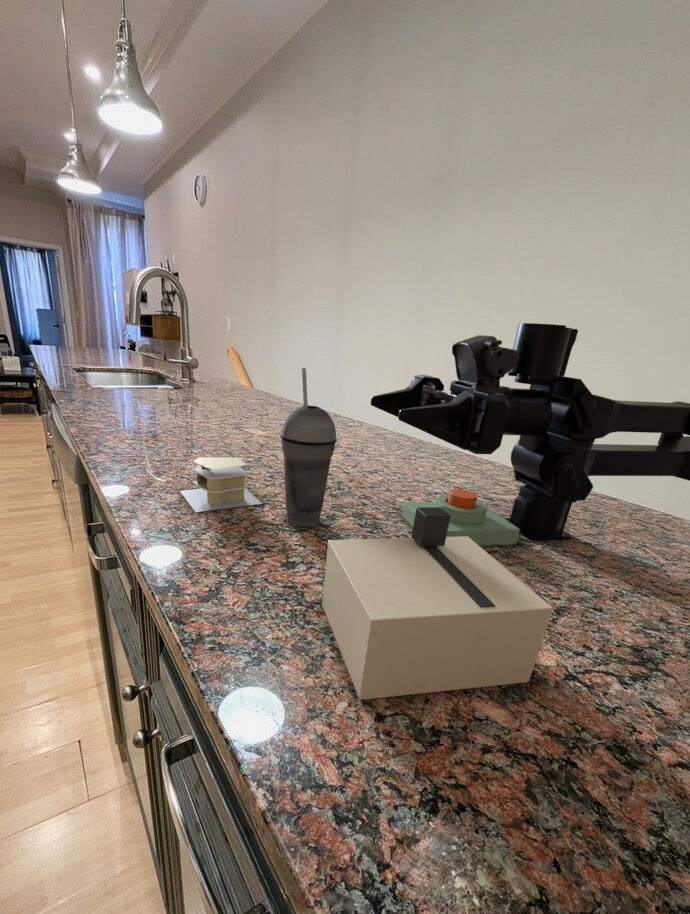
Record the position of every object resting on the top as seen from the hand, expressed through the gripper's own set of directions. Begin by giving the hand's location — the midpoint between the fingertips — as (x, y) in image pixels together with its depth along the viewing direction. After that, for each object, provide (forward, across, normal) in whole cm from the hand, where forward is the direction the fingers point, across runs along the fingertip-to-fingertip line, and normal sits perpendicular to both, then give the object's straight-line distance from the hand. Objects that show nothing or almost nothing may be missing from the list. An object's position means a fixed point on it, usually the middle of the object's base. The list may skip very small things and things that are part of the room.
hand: (384, 407), depth 52 cm
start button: (-13, -1, +13) cm, 19 cm away
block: (-13, -1, +17) cm, 21 cm away
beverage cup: (+8, -5, +17) cm, 19 cm away
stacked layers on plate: (+19, -14, +17) cm, 29 cm away
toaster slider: (+1, +16, +9) cm, 19 cm away
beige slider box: (+3, +21, +16) cm, 27 cm away
